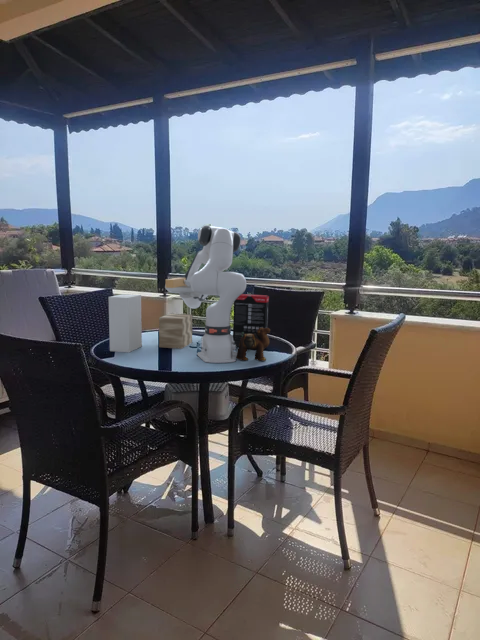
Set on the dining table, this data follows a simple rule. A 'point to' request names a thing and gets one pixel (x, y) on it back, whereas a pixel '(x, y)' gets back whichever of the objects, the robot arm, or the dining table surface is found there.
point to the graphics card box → (249, 315)
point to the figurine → (253, 344)
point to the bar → (175, 282)
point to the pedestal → (175, 330)
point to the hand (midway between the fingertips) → (179, 281)
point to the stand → (125, 323)
